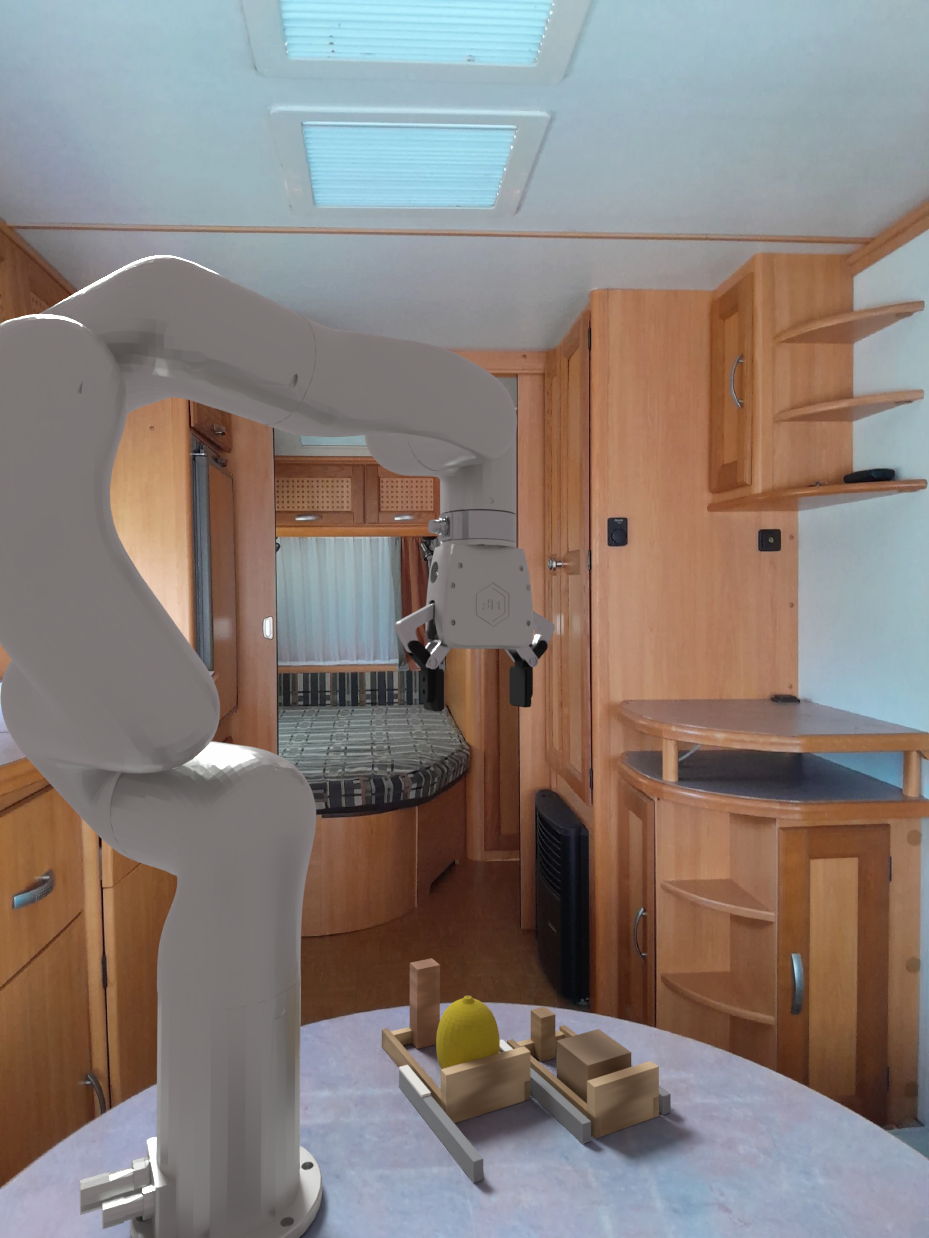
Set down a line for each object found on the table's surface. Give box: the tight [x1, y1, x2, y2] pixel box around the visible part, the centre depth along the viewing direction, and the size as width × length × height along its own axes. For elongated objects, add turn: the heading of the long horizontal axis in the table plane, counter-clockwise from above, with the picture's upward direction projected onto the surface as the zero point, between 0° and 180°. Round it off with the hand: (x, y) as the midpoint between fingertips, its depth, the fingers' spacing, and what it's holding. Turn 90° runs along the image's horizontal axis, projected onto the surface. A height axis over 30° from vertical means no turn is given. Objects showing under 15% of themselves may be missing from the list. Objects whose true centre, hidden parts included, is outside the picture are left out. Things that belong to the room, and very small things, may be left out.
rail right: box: [631, 1064, 672, 1116], centre depth 71 cm, size 1×11×2 cm, turn 27°
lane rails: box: [398, 1039, 592, 1184], centre depth 66 cm, size 10×14×2 cm
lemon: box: [435, 995, 501, 1070], centre depth 69 cm, size 6×6×8 cm
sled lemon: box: [381, 958, 531, 1124], centre depth 72 cm, size 8×14×8 cm, turn 27°
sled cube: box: [506, 1006, 660, 1140], centre depth 70 cm, size 6×14×4 cm, turn 28°
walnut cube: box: [556, 1028, 632, 1104], centre depth 68 cm, size 4×4×4 cm
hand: (478, 708), depth 78 cm, fingers open, 9 cm apart
